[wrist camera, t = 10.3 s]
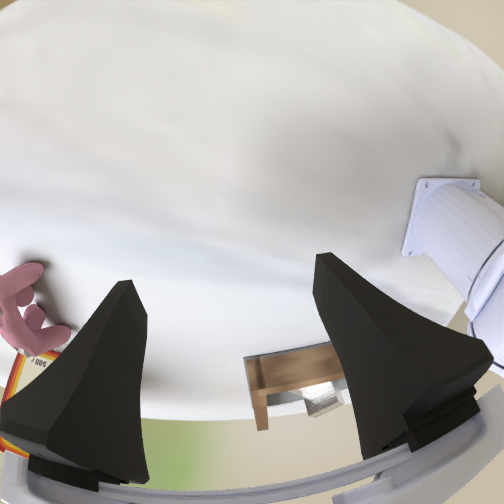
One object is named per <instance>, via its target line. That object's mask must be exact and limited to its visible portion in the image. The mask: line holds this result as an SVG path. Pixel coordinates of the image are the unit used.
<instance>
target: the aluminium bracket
mask: <svg viewBox="0 0 504 504" xmlns="http://www.w3.org/2000/svg"><path fill="white" fill-rule="evenodd" d="M288 392H291V393H293V394H296V395H299V396H302V397H304V401H305V405H306V408H307V412H308V415H309V416H312V417H318V416H320V415H323V414H325V413H327V412H329V411H331V410H333V409H335V408H337V407H339V406H341V405H343V404H345V403H344V400H343V398H342V395H341V392H340V389H339V386H338V384H337V381H336V380H334V381H330V382H326V383H322V384H318V385H313V386H309V387H304V388H300V389H295V390H290V391H288Z"/></svg>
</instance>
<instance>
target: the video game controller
mask: <svg viewBox="0 0 504 504" xmlns="http://www.w3.org/2000/svg"><path fill="white" fill-rule="evenodd" d="M43 271H44V267H43V265H42V264H41V263H37V262H30V263H26V264H22V265H20V266H18V267H15V268H14V269H12V270H10V271H9V272H7V273H5V274H4V275H0V334H1V335H2V336H3V338H4V339H5V340H6V341H7V342H8V343H9V344H10V345H11V346H12V347H13V348H14V349H16V350H17V351H18V352H19V353H21V354H23V355H25V357H26V358H30V357H31V356H33V357H37V356H39V355H41V354H43V353H45V352H47V351H49V350H51V349H54V348H56V347H58V346H60V345H62V344H64V343H65V342H66V341H67V340H68V339H69V338H70V336H71V329H70V328H69V327H68V326H65V325H55V326H50V327H46V328H43V329H41V327H42V324H43V322H44V320H45V313H44V311H43V310H42V309H41V308H40V307H38V306H37V305H36V304H31V305H29V304H30V303H31V302H32V300H33V297H34V291H33V288H32V286H31V284H33V283H34V282H36V281H37V280H38V279H39V278H40V277H41V275H42V274H43ZM27 305H29V306H28V307H27V308H26V310H25V312H24V316H23V318H22V316H21V314H20V312H19V310H18V307H17V306H20V307H24V306H27Z"/></svg>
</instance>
